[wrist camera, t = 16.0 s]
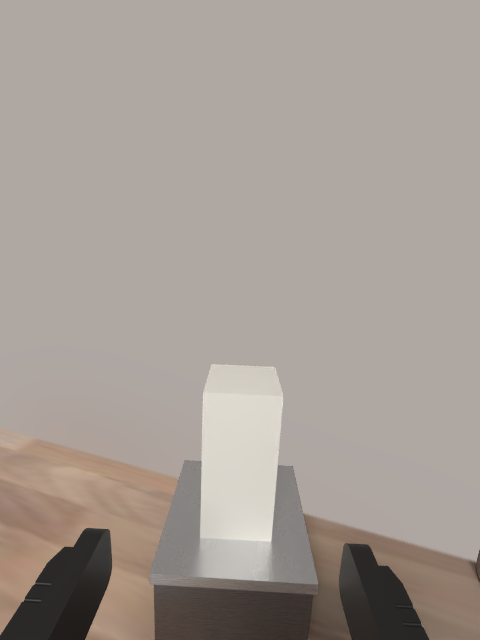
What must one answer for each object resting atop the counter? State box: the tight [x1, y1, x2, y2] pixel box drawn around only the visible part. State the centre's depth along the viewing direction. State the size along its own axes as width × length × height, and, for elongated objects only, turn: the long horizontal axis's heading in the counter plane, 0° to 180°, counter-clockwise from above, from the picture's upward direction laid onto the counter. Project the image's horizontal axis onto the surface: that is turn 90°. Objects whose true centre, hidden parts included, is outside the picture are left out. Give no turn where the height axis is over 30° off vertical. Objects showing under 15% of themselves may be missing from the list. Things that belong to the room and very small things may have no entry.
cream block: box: [200, 364, 283, 541], centre depth 22 cm, size 5×5×11 cm
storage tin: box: [150, 460, 319, 640], centre depth 24 cm, size 10×10×10 cm
